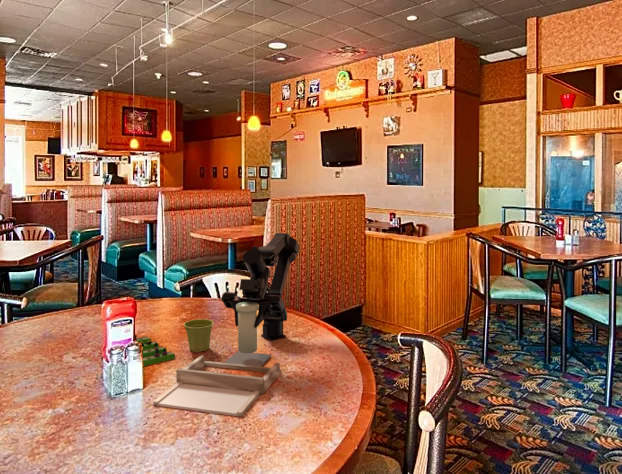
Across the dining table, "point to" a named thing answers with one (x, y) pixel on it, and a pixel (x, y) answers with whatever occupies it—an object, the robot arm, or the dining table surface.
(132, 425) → the dining table surface
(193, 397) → the frame lid
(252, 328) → the pale lidded canister
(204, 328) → the plant pot
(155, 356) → the toy garden set
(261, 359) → the slate pad
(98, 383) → the dining table surface
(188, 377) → the frame
